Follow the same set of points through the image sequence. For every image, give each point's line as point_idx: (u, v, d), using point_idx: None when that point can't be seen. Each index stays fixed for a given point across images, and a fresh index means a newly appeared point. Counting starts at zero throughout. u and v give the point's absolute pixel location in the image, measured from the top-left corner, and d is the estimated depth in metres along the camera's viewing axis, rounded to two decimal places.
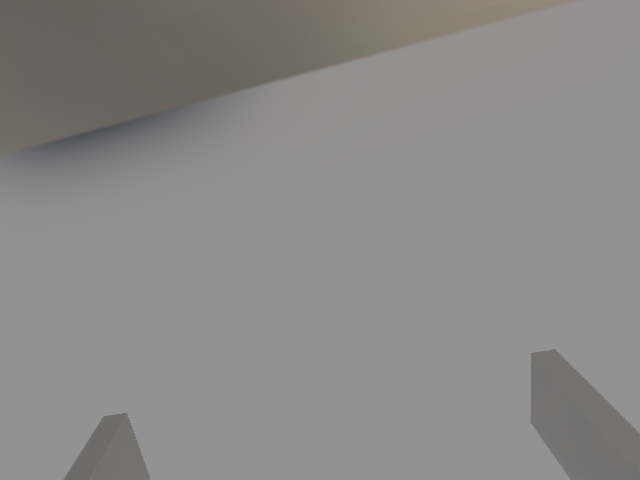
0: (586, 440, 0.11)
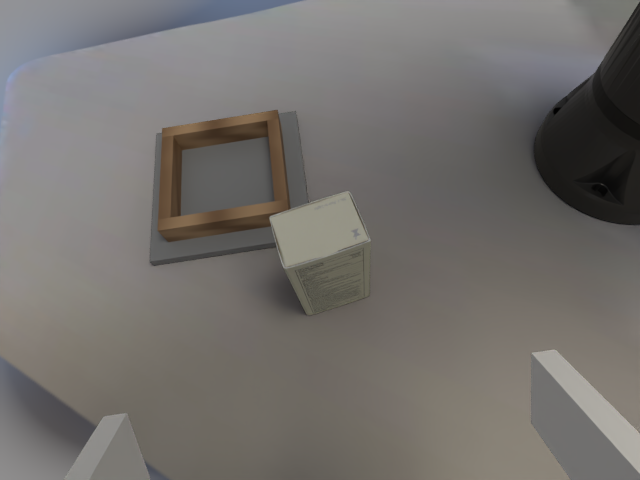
0: (585, 440, 0.11)
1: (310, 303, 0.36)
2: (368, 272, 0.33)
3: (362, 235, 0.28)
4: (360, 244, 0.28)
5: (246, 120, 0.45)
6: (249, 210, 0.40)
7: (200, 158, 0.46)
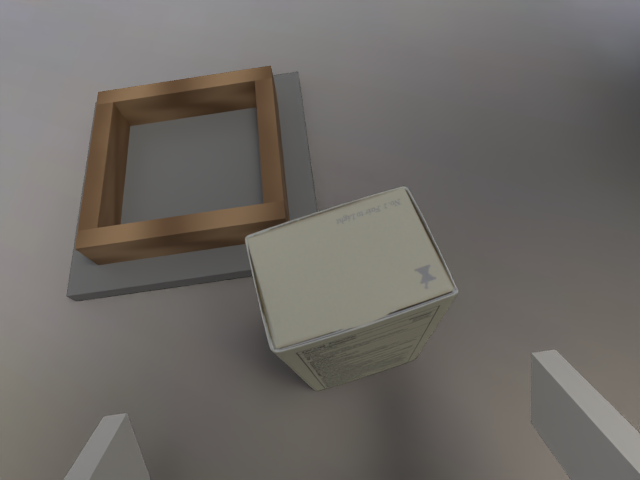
0: (586, 441, 0.11)
1: (322, 381, 0.21)
2: (429, 335, 0.18)
3: (440, 279, 0.13)
4: (437, 299, 0.13)
5: (223, 80, 0.30)
6: (223, 217, 0.25)
7: (156, 138, 0.31)
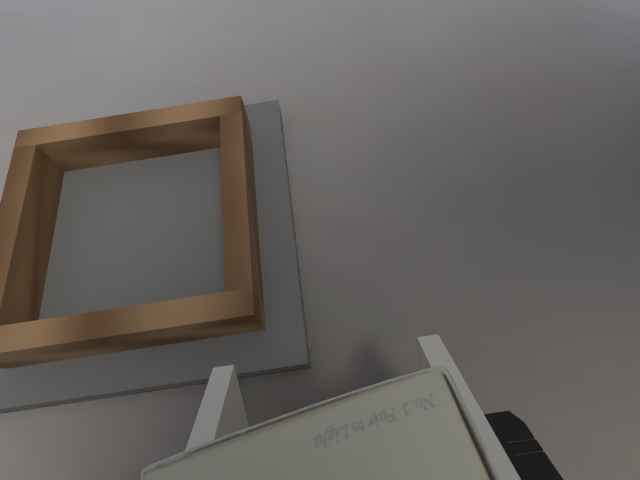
0: None
1: None
2: None
3: None
4: None
5: (179, 115, 0.23)
6: (168, 312, 0.18)
7: (96, 188, 0.24)
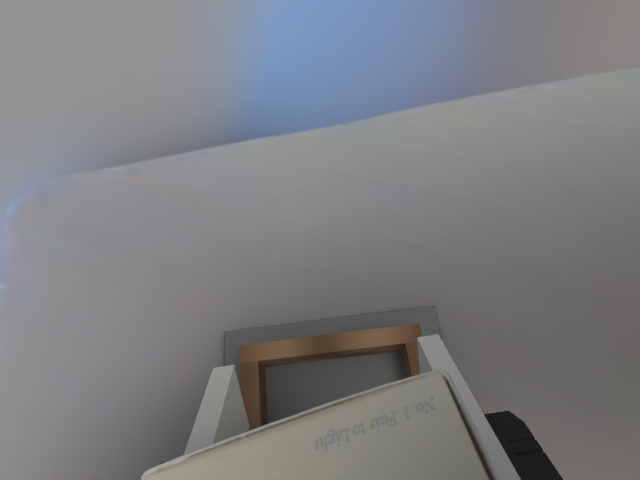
0: None
1: None
2: None
3: None
4: None
5: (372, 340, 0.29)
6: None
7: (294, 385, 0.30)
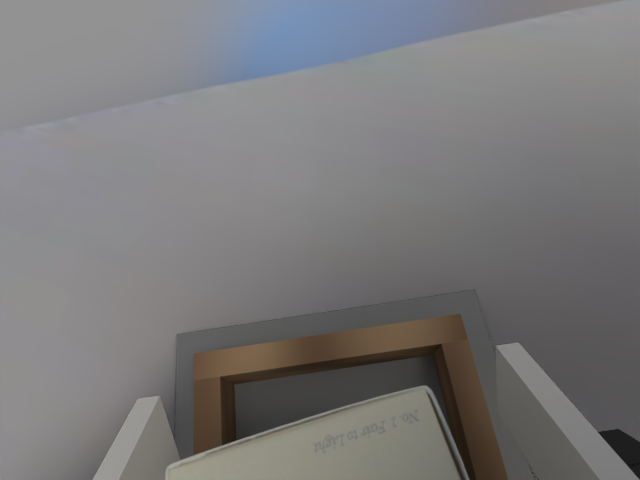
0: (539, 427, 0.12)
1: None
2: None
3: None
4: None
5: (391, 340, 0.19)
6: None
7: (277, 410, 0.21)
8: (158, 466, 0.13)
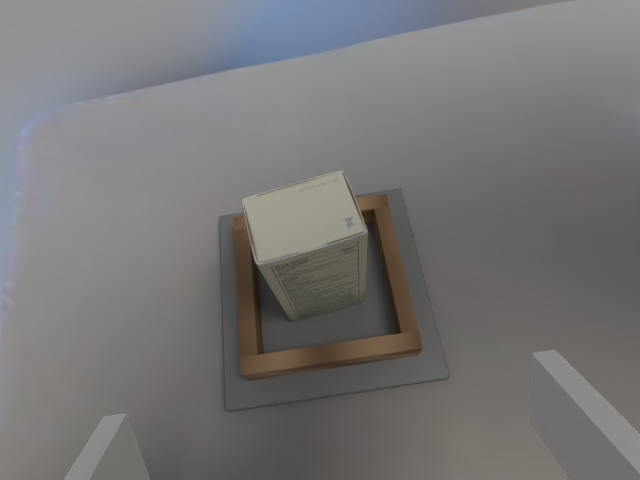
0: (585, 441, 0.11)
1: (294, 307, 0.30)
2: (364, 272, 0.27)
3: (357, 225, 0.22)
4: (355, 236, 0.22)
5: None
6: (367, 346, 0.29)
7: None
8: None
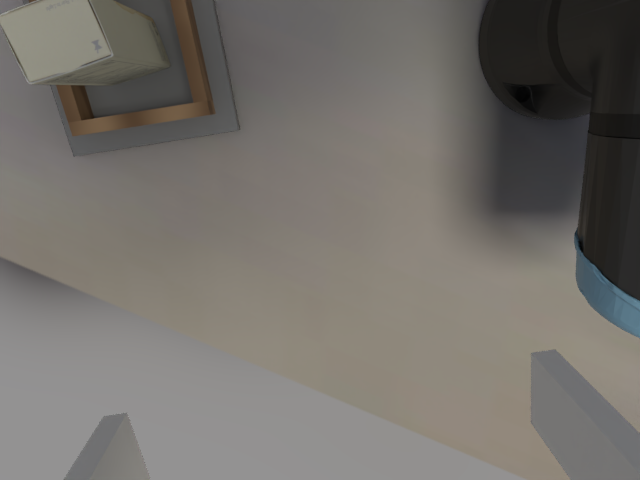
0: (586, 441, 0.11)
1: (100, 83, 0.36)
2: (144, 62, 0.33)
3: (104, 48, 0.27)
4: (103, 58, 0.27)
5: None
6: (167, 113, 0.38)
7: None
8: None
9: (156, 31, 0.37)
